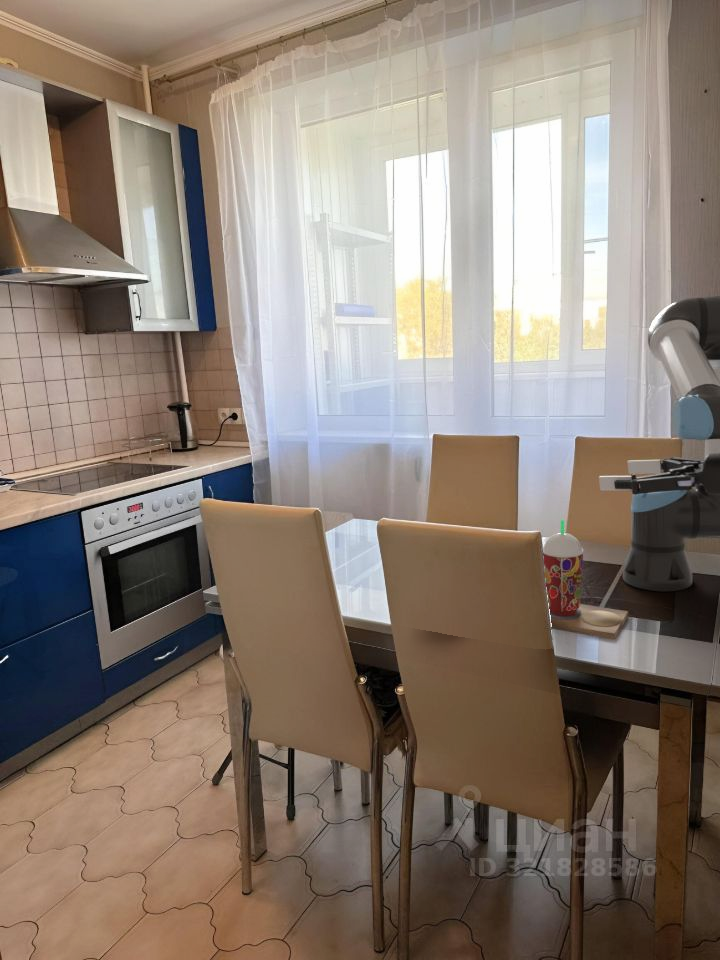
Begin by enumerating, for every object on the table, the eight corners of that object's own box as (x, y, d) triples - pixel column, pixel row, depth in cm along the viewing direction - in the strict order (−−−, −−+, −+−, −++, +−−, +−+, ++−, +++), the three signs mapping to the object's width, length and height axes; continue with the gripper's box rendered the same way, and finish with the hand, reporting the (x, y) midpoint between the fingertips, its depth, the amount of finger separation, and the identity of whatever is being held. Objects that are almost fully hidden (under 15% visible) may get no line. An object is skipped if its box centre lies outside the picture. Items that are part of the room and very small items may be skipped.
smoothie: (586, 619, 137) (586, 525, 133) (544, 619, 138) (543, 526, 134) (579, 603, 145) (580, 514, 141) (540, 603, 146) (539, 515, 142)
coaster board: (552, 604, 149) (552, 598, 149) (627, 616, 140) (628, 610, 140) (534, 625, 139) (534, 618, 139) (614, 639, 130) (614, 632, 130)
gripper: (711, 513, 111) (589, 509, 126) (752, 477, 128) (641, 478, 143) (707, 469, 110) (585, 471, 125) (749, 439, 127) (637, 443, 142)
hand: (614, 474), depth 134 cm, fingers open, 13 cm apart
